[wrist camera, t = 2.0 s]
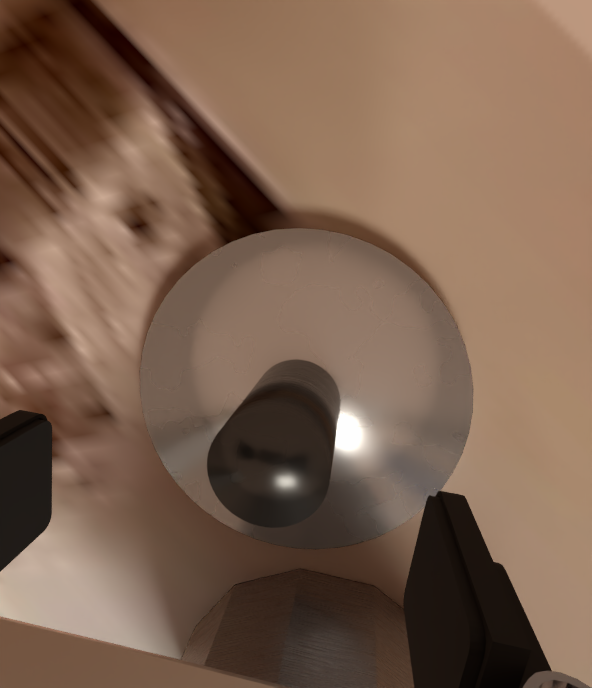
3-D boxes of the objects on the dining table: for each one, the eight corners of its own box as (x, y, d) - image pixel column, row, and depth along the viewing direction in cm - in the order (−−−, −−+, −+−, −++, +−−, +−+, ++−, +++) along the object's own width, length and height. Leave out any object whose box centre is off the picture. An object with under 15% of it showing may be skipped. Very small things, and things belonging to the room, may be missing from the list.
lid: (504, 255, 17) (598, 262, 10) (428, 564, 20) (461, 722, 14) (160, 207, 19) (44, 184, 12) (141, 500, 22) (42, 614, 15)
